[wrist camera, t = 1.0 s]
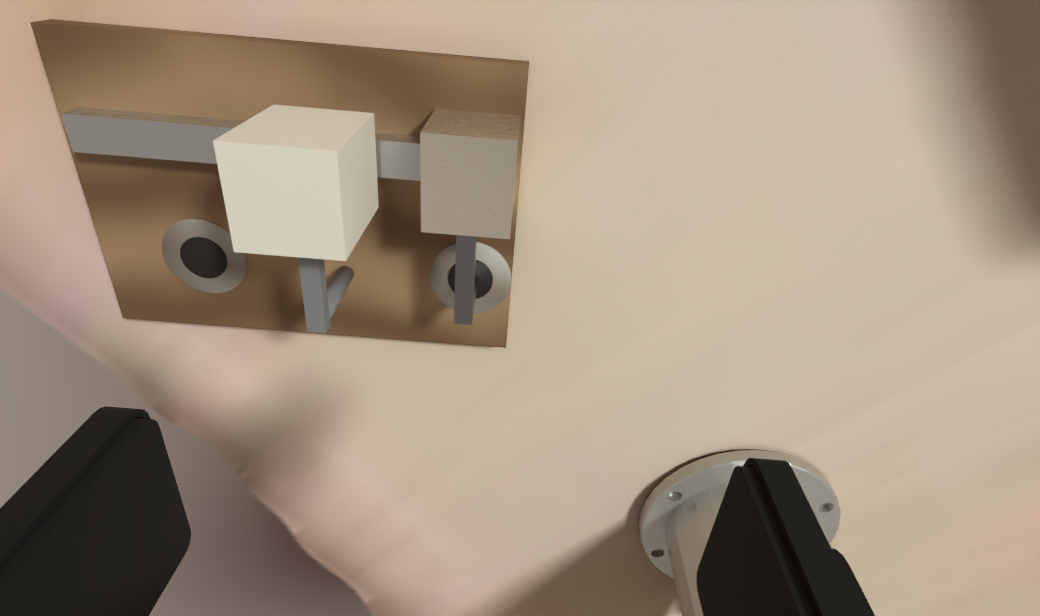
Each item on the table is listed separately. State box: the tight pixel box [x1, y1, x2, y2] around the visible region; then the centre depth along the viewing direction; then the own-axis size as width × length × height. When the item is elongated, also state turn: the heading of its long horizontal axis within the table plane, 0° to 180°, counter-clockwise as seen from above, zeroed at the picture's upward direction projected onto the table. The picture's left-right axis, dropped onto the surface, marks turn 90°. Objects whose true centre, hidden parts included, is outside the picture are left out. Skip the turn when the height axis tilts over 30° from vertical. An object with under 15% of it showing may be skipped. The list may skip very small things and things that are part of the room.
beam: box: [61, 107, 520, 325], centre depth 26 cm, size 8×19×4 cm, turn 85°
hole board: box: [30, 19, 529, 348], centre depth 28 cm, size 14×20×1 cm
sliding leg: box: [213, 104, 379, 333], centre depth 24 cm, size 8×4×6 cm, turn 175°
